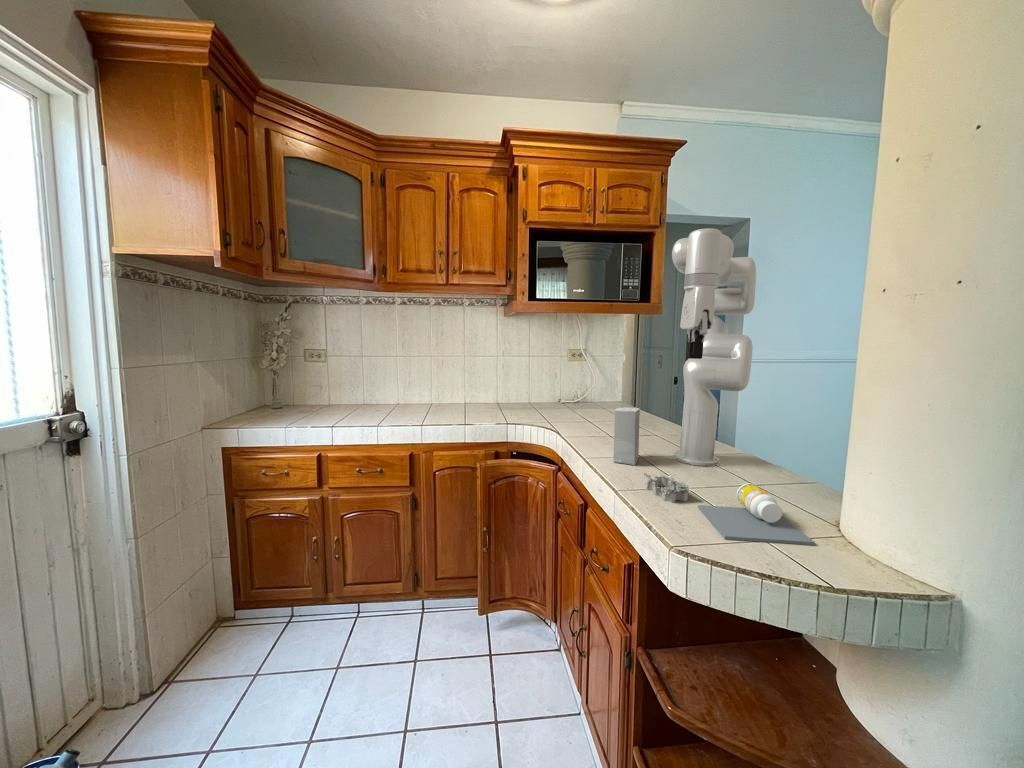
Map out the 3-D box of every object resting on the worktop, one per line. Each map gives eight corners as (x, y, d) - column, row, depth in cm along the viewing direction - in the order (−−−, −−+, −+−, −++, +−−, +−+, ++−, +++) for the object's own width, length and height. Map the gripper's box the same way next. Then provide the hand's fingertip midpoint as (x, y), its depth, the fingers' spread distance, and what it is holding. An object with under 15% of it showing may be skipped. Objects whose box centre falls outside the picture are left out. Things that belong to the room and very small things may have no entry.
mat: (697, 507, 91) (698, 504, 91) (773, 512, 90) (773, 509, 90) (724, 539, 77) (725, 536, 77) (814, 545, 76) (815, 542, 76)
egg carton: (640, 487, 103) (641, 472, 102) (666, 485, 104) (667, 470, 104) (665, 504, 93) (666, 487, 92) (693, 502, 94) (694, 485, 94)
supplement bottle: (731, 490, 91) (752, 508, 82) (753, 478, 90) (776, 495, 81) (744, 510, 91) (766, 530, 82) (766, 498, 91) (791, 517, 81)
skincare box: (635, 466, 118) (638, 412, 116) (610, 462, 121) (613, 409, 119) (639, 458, 126) (642, 407, 124) (615, 454, 129) (618, 404, 127)
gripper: (675, 286, 108) (670, 356, 110) (695, 279, 93) (688, 360, 95) (705, 286, 107) (698, 357, 110) (730, 279, 92) (722, 361, 95)
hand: (694, 358), depth 102 cm, fingers closed
